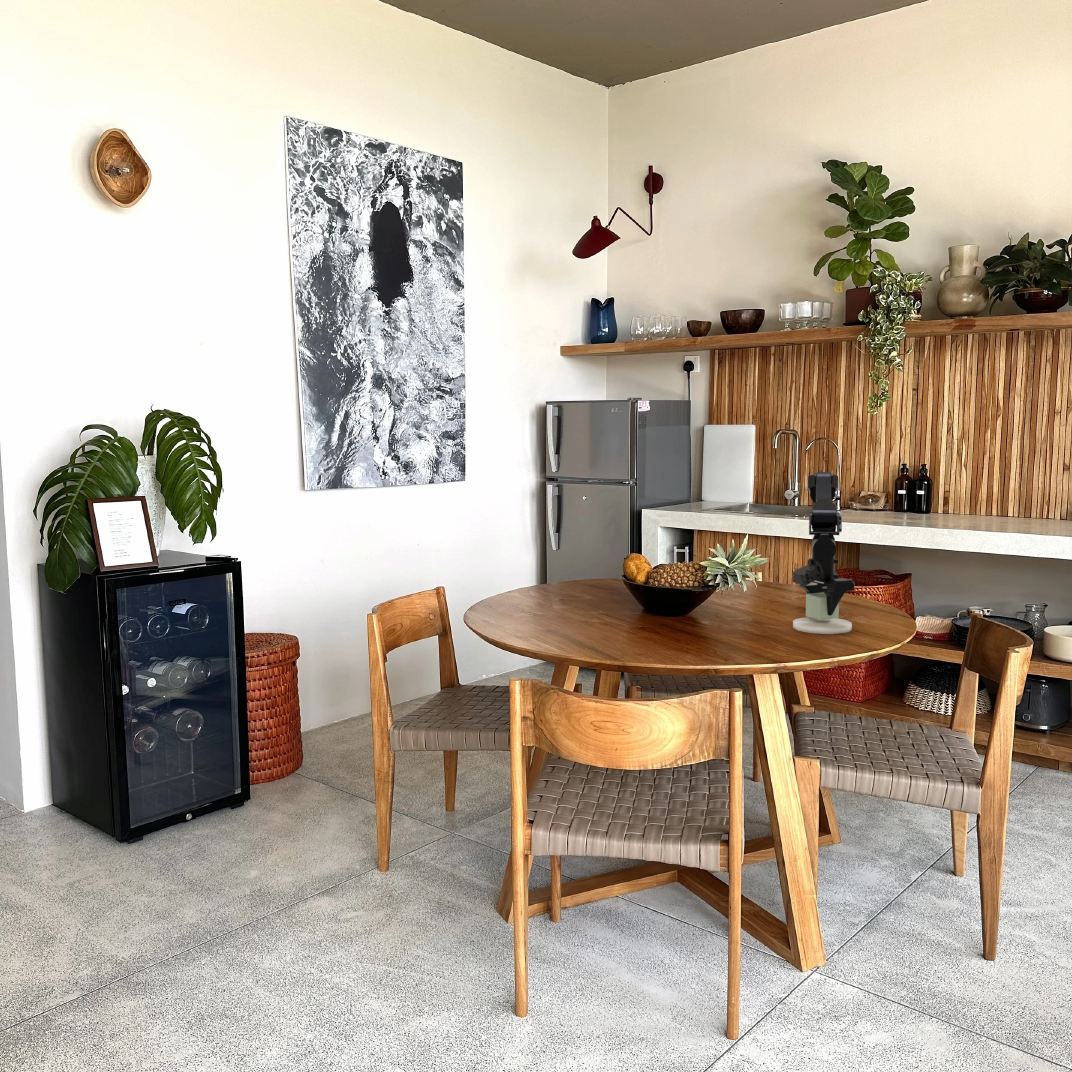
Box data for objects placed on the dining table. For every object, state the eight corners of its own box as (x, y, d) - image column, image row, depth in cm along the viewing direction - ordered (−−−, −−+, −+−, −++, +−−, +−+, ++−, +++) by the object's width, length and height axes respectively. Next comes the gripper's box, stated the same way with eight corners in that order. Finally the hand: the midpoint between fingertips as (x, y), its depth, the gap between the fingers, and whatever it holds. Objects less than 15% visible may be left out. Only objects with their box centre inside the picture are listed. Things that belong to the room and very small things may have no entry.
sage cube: (823, 614, 263) (824, 592, 262) (838, 618, 257) (839, 595, 256) (805, 616, 260) (806, 594, 260) (819, 620, 255) (820, 597, 254)
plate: (826, 620, 269) (827, 615, 269) (863, 630, 255) (864, 625, 255) (781, 625, 263) (781, 619, 263) (816, 636, 249) (816, 630, 249)
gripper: (776, 553, 263) (776, 609, 264) (821, 561, 245) (819, 622, 247) (810, 550, 267) (809, 606, 268) (856, 558, 249) (855, 618, 251)
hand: (822, 613), depth 259 cm, fingers closed on sage cube, 6 cm apart
